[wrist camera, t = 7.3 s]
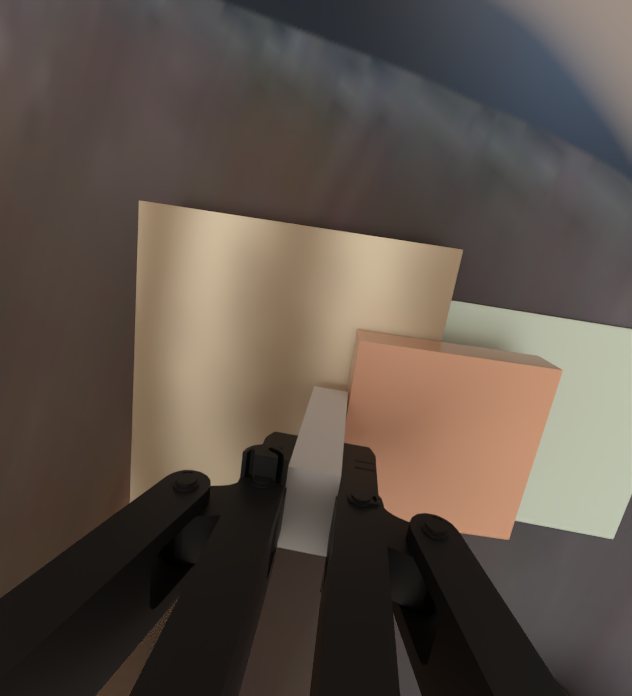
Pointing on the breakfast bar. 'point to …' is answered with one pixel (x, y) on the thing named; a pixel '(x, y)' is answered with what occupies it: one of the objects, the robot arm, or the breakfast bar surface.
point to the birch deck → (258, 328)
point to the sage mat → (568, 413)
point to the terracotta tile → (449, 426)
